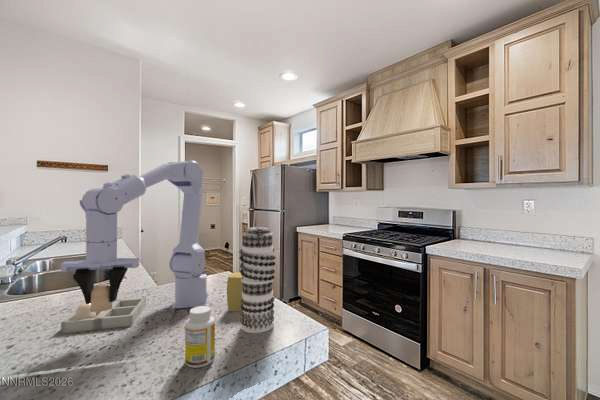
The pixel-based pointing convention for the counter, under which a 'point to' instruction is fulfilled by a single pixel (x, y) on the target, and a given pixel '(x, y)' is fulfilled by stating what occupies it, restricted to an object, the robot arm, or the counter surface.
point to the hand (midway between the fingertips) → (101, 301)
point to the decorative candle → (257, 280)
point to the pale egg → (84, 312)
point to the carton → (107, 317)
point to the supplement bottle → (199, 337)
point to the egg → (100, 298)
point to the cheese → (234, 292)
